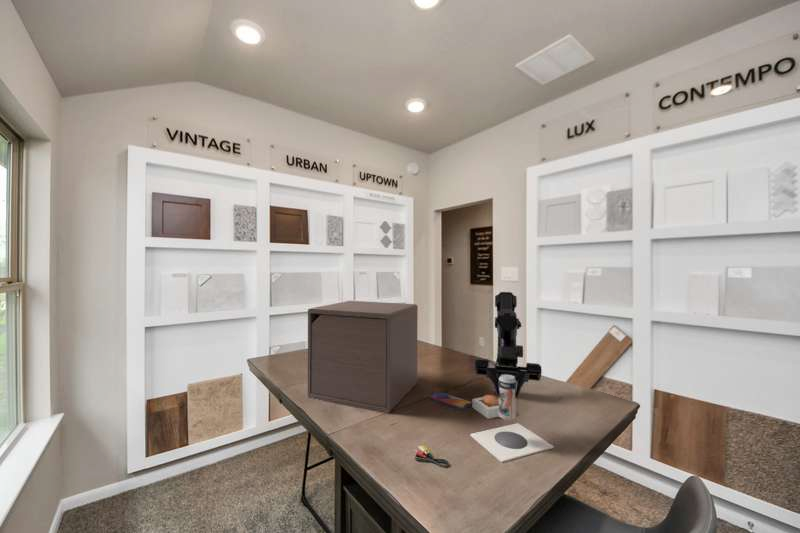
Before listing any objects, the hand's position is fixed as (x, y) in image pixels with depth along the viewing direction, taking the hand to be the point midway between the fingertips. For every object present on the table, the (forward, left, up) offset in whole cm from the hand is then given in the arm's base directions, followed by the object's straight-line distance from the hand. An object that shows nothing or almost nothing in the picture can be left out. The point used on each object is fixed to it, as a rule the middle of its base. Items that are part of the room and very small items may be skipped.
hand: (507, 396), depth 91 cm
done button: (-8, -18, -11) cm, 23 cm away
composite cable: (+24, -1, -14) cm, 28 cm away
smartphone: (0, -30, -14) cm, 33 cm away
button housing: (-8, -18, -13) cm, 24 cm away
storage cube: (+28, -51, -14) cm, 60 cm away
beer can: (-1, -1, -7) cm, 7 cm away
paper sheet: (-1, 0, -13) cm, 13 cm away
